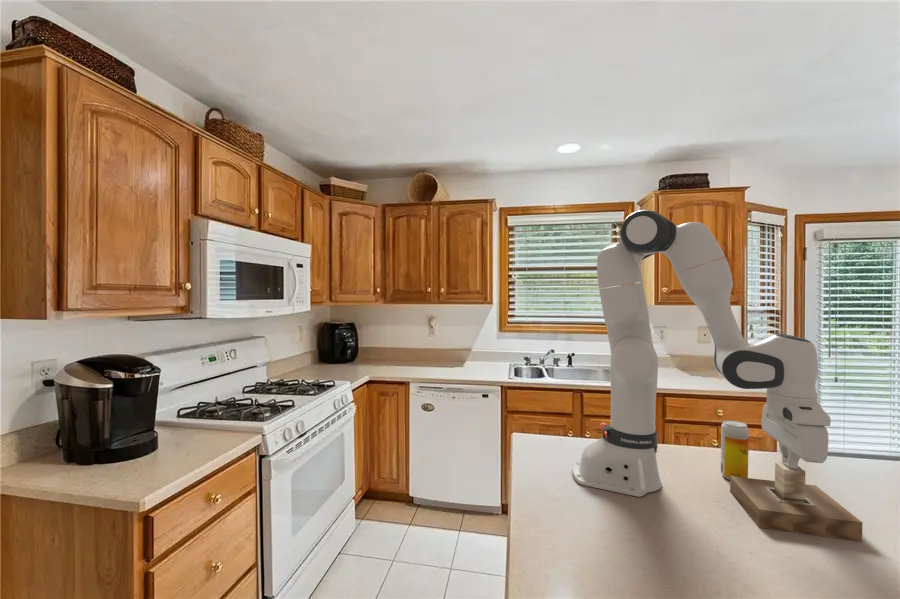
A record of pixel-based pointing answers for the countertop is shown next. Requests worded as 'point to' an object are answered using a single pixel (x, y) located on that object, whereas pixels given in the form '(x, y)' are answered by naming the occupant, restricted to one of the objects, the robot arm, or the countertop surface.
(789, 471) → the birch peg
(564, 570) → the countertop surface
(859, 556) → the countertop surface
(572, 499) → the countertop surface
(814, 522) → the walnut board
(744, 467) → the beer can
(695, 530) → the countertop surface
